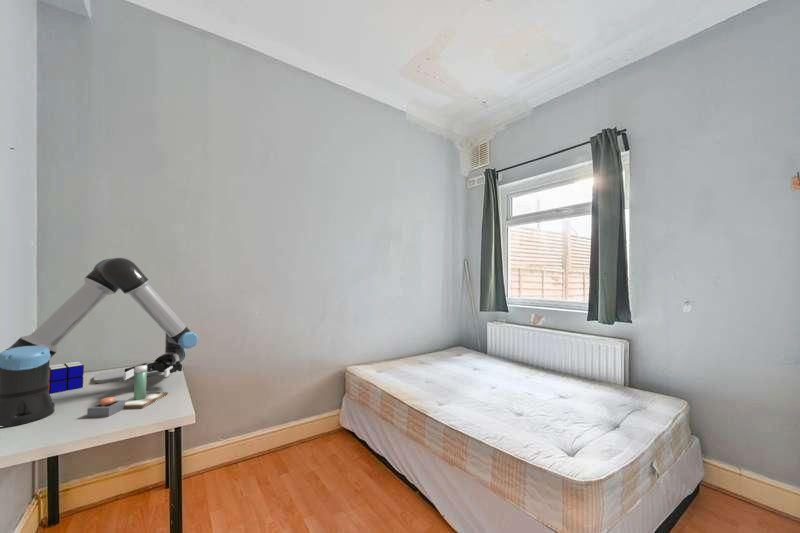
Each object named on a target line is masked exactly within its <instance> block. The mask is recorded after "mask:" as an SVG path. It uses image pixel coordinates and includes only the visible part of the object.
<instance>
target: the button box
mask: <svg viewBox="0 0 800 533" xmlns="http://www.w3.org/2000/svg"><path fill="white" fill-rule="evenodd" d="M125 401H126V400H125V399H119V400H118V399H117V400H116V399H115V402H114V403H112V404H109V405H99V402H98V403H96V404H94V405H92V406H89V407H87V412H86V414H87V416H86V417H87V418H102V417H103V418H104V417H111V416H113V415H115V414H117V413H119V412H121V411H123V410H125V409H124V406H125Z"/></svg>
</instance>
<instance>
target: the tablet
mask: <svg viewBox="0 0 800 533" xmlns="http://www.w3.org/2000/svg"><path fill="white" fill-rule="evenodd" d="M125 369H126V368H123V369H115V370H108V371H102V372H98V373H95V376H94V378H93V382H95V385H101V384H107V382H109V383H114V382H113V381H115V382H120V381H119V380H122V381H124V380H123V379H124V373H125ZM151 370H152V369H151ZM162 373H163V374H164V372H158V371H152V372H148V371H147V376H148V377H153V376H152V375H155V376H159V374H160V375H163V374H162ZM132 378H135V374H134V376H132V377H130V378H129V379H128V380H133V379H132Z"/></svg>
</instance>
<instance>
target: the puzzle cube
mask: <svg viewBox="0 0 800 533" xmlns="http://www.w3.org/2000/svg"><path fill="white" fill-rule="evenodd" d="M84 368H85V366H84V364H83V363H82V362H81V361H74V362H67V363H58V364H53V365H49V384H48V391H49V394H50V395H52V394H56V393H57V394H58V393H62V392H66V391H72V390H77V389H78V390H79V389H83V388H84V372H85V371H84V370H85V369H84Z"/></svg>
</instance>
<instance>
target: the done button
mask: <svg viewBox="0 0 800 533" xmlns="http://www.w3.org/2000/svg"><path fill="white" fill-rule="evenodd" d="M115 400H116V397H115V396H108V397H103V398H101V399H99V400H98V401H99V402H98V403H99V405H109V404H112V403H114V402H115Z"/></svg>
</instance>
